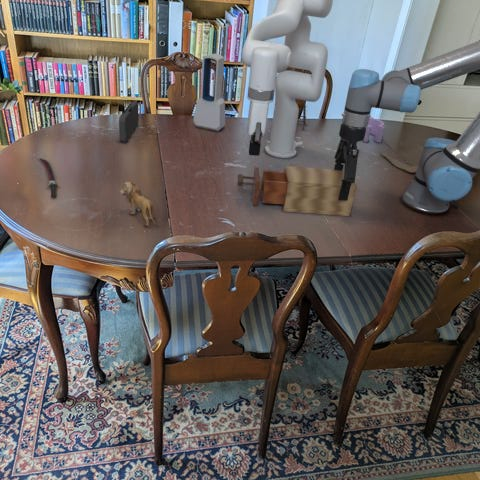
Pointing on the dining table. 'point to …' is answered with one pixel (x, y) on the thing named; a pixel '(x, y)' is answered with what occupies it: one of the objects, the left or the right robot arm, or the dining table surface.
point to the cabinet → (316, 191)
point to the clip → (374, 129)
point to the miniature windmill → (302, 105)
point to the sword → (52, 181)
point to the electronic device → (207, 106)
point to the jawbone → (401, 164)
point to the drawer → (267, 186)
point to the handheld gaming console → (128, 121)
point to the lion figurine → (137, 201)
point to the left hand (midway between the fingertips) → (253, 154)
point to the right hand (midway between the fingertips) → (338, 190)
